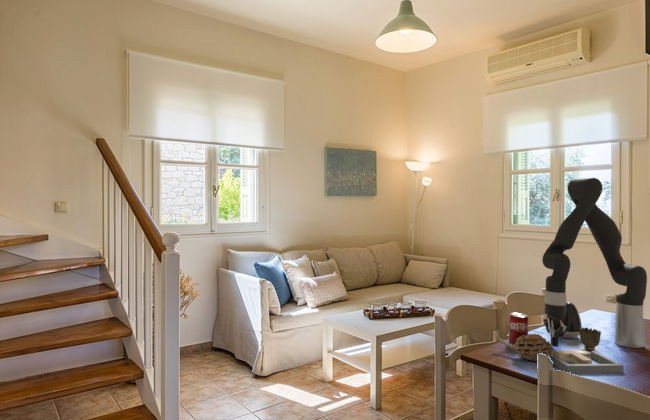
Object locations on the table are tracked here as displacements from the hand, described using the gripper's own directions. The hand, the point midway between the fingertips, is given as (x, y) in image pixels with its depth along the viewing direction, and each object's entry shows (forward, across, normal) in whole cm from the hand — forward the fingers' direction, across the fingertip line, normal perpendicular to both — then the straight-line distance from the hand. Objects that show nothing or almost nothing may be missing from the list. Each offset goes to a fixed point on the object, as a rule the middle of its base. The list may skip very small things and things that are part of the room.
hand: (554, 345), depth 170 cm
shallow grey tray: (+1, -16, 0) cm, 16 cm away
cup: (+2, -1, -14) cm, 14 cm away
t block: (+1, -15, 0) cm, 15 cm away
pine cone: (+2, -9, +18) cm, 20 cm away
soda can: (+2, +7, +11) cm, 13 cm away
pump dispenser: (+2, +16, -16) cm, 23 cm away
